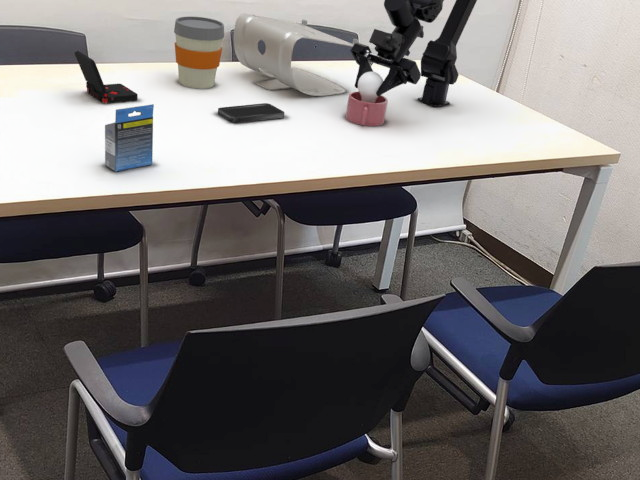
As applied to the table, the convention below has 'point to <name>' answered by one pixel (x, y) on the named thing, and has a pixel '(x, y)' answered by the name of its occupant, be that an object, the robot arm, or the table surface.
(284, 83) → the beige plastic curved shell
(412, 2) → the robot arm
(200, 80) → the reusable coffee cup
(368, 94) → the lightbulb
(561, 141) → the table surface
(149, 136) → the blue upright rectangular box
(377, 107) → the mug
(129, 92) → the handheld gaming console
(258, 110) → the phone
